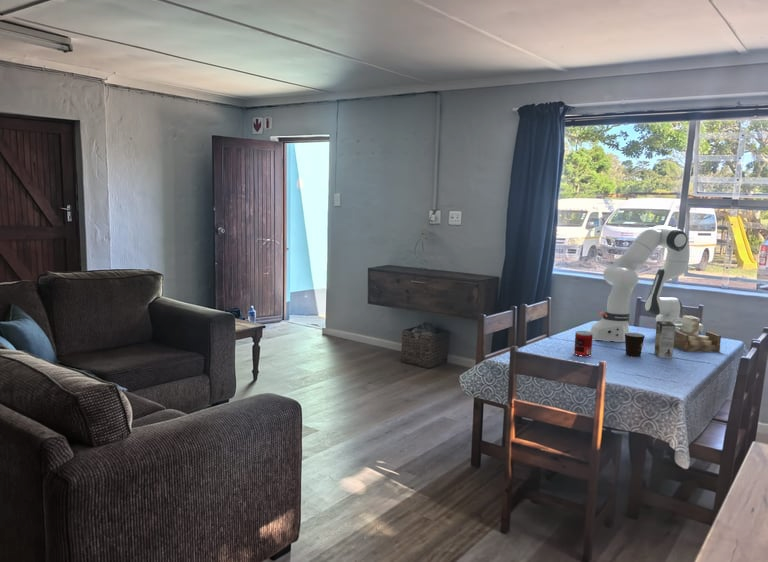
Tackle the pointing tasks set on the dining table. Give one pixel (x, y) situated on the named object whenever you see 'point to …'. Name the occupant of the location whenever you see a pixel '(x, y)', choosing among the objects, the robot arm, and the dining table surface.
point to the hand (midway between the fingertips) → (689, 330)
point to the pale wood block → (690, 325)
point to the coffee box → (664, 339)
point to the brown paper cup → (634, 344)
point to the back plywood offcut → (698, 338)
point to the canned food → (583, 343)
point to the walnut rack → (682, 344)
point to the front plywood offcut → (699, 342)
